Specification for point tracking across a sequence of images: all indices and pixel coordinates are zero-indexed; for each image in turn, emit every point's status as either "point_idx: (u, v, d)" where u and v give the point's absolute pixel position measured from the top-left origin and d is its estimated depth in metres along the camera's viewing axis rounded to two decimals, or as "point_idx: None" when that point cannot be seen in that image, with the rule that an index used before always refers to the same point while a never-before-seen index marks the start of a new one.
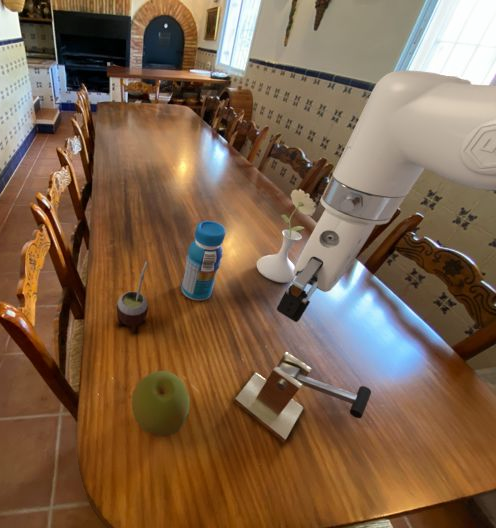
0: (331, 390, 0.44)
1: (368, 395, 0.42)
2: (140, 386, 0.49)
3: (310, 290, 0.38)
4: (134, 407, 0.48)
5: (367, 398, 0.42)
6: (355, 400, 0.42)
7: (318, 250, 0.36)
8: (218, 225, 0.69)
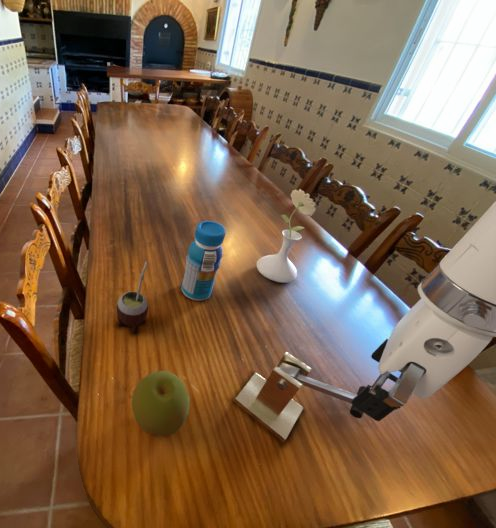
0: (331, 390, 0.44)
1: None
2: (140, 386, 0.49)
3: None
4: (134, 407, 0.48)
5: None
6: None
7: (421, 356, 0.30)
8: (218, 225, 0.69)
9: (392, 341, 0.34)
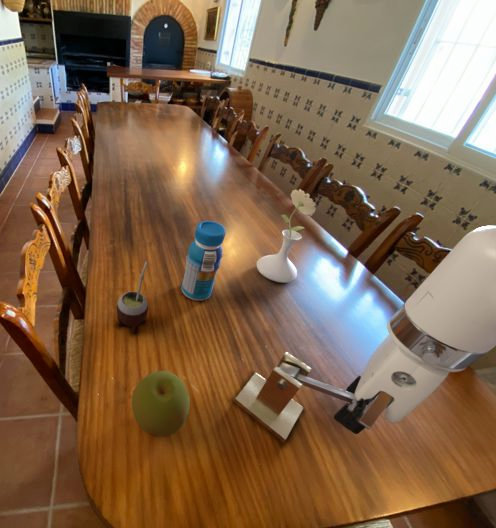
0: (331, 390, 0.44)
1: None
2: (140, 386, 0.49)
3: None
4: (134, 407, 0.48)
5: None
6: None
7: (389, 387, 0.33)
8: (218, 225, 0.69)
9: (367, 370, 0.38)
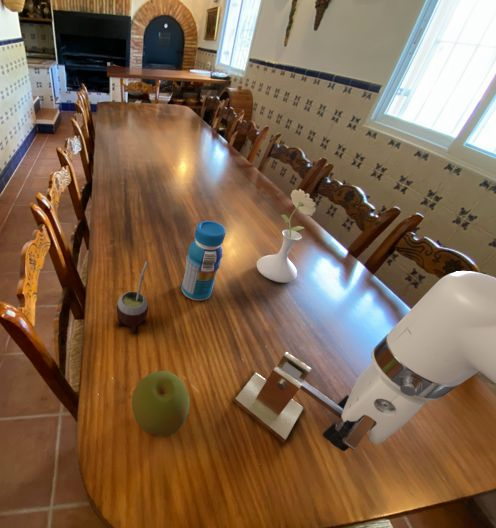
0: (328, 403, 0.46)
1: None
2: (140, 386, 0.49)
3: None
4: (134, 407, 0.48)
5: None
6: None
7: (372, 412, 0.36)
8: (218, 225, 0.69)
9: (353, 393, 0.40)
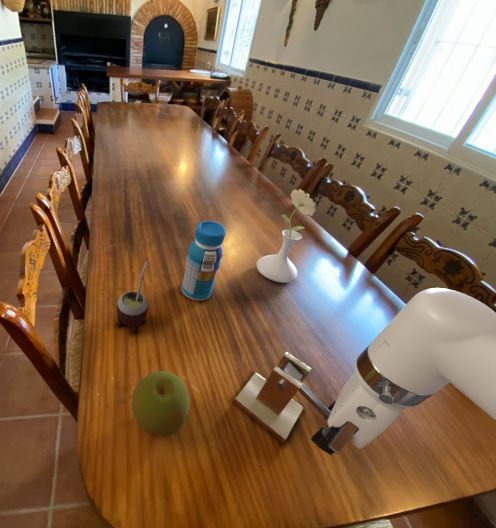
0: (322, 408, 0.47)
1: None
2: (140, 386, 0.49)
3: None
4: (134, 407, 0.48)
5: None
6: None
7: (354, 418, 0.38)
8: (218, 225, 0.69)
9: (338, 400, 0.43)
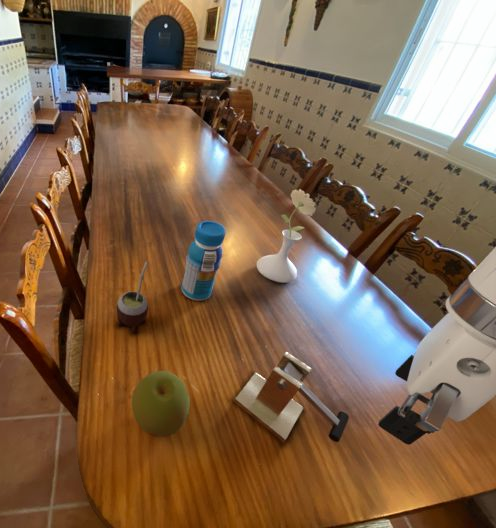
0: (321, 408, 0.47)
1: (346, 422, 0.47)
2: (140, 386, 0.49)
3: None
4: (134, 407, 0.48)
5: (345, 425, 0.47)
6: (337, 426, 0.46)
7: (454, 377, 0.28)
8: (218, 225, 0.69)
9: (420, 359, 0.32)
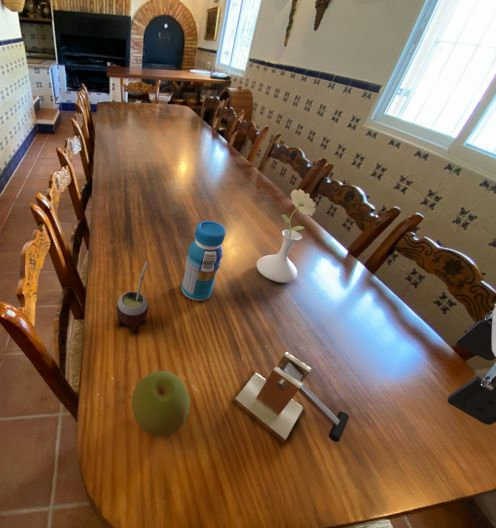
0: (321, 408, 0.47)
1: (346, 422, 0.47)
2: (140, 386, 0.49)
3: None
4: (134, 407, 0.48)
5: (345, 425, 0.47)
6: (337, 426, 0.46)
7: None
8: (218, 225, 0.69)
9: None
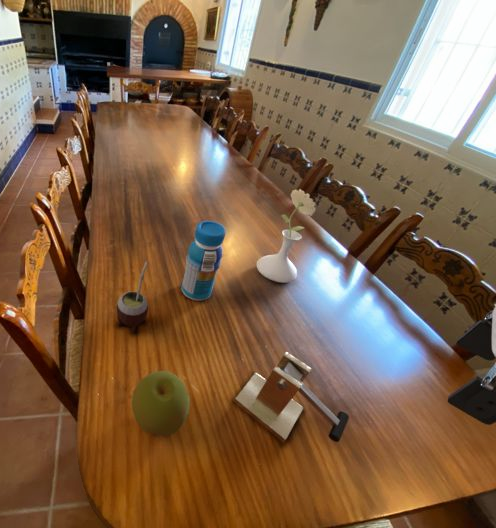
0: (321, 408, 0.47)
1: (346, 422, 0.47)
2: (140, 386, 0.49)
3: None
4: (134, 407, 0.48)
5: (345, 425, 0.47)
6: (337, 426, 0.46)
7: None
8: (218, 225, 0.69)
9: None
